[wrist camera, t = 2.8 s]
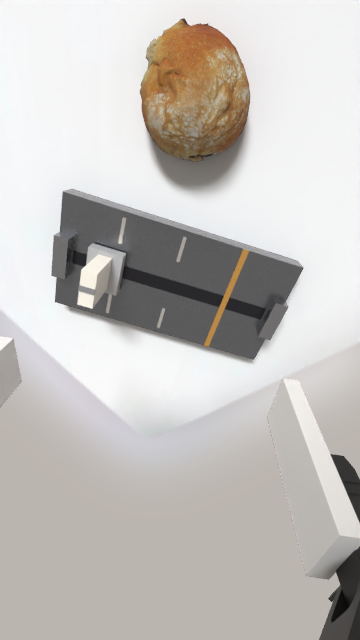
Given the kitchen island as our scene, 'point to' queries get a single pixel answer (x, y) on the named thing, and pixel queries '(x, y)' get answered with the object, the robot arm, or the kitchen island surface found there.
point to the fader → (100, 274)
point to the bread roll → (194, 91)
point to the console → (174, 276)
